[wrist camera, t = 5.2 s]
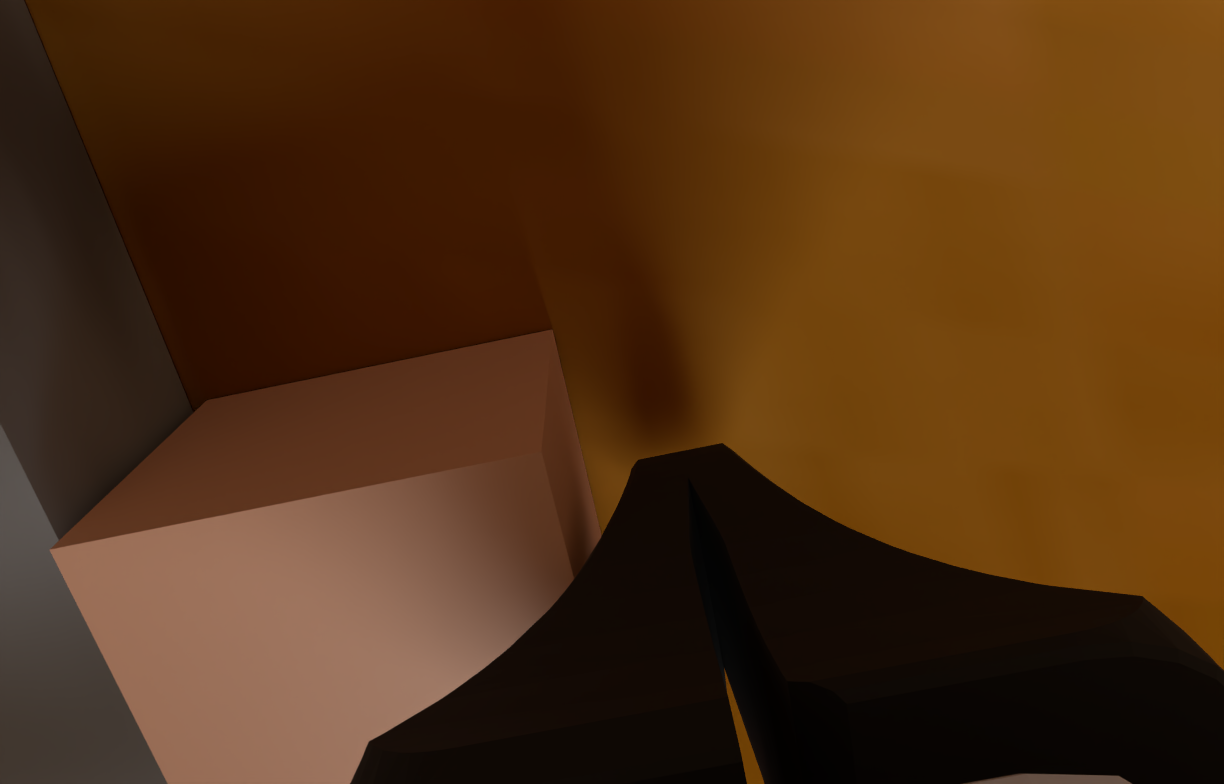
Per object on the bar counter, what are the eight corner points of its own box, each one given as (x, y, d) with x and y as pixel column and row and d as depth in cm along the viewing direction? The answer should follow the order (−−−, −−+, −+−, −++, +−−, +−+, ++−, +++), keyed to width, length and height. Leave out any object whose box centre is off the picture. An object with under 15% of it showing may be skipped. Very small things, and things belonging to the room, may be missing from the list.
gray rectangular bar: (432, 993, 17) (396, 1217, 14) (281, 1020, 17) (211, 1248, 14) (-60, -206, 10) (-378, -332, 7) (-314, -146, 10) (-748, -240, 7)
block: (622, 622, 14) (637, 829, 10) (318, 680, 14) (228, 903, 11) (552, 329, 12) (540, 450, 9) (207, 400, 13) (49, 549, 9)
